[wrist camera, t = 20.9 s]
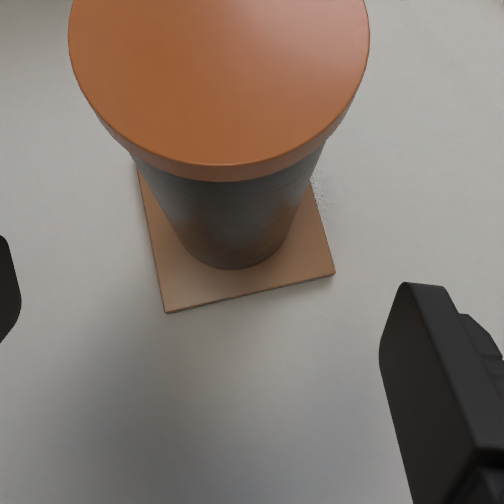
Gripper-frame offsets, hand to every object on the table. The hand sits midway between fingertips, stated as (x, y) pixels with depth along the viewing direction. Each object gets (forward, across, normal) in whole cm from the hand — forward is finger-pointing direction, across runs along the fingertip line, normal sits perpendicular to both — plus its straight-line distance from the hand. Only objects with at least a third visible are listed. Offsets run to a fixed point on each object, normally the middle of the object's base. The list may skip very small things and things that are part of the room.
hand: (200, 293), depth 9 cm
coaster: (+11, 0, +4) cm, 12 cm away
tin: (+11, 0, +4) cm, 12 cm away
